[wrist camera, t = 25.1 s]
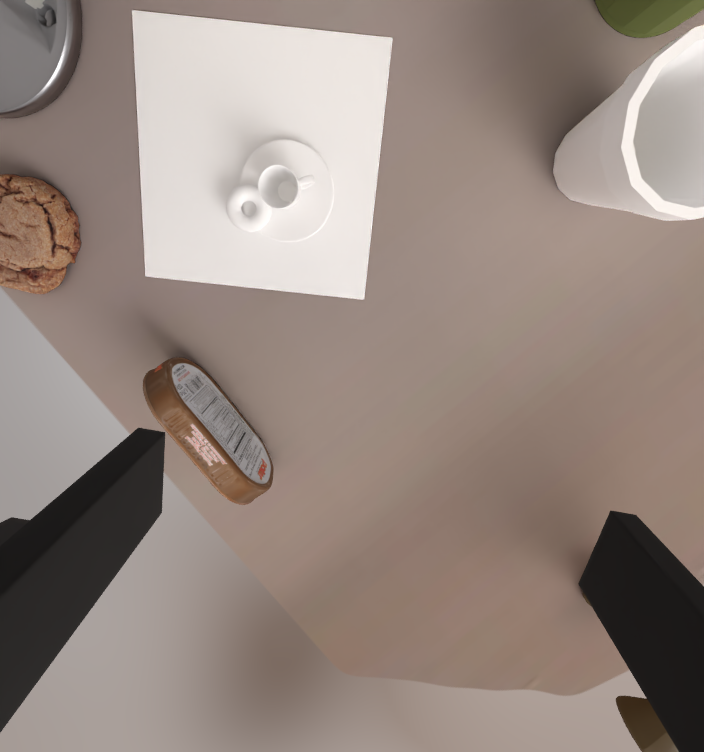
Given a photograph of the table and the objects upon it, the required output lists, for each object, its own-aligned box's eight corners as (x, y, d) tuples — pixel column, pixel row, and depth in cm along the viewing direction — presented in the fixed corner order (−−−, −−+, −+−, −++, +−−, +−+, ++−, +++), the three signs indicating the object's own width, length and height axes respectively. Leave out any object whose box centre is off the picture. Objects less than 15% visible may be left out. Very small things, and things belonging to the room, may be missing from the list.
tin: (167, 359, 42) (119, 390, 34) (191, 342, 41) (149, 369, 33) (262, 474, 46) (239, 526, 38) (285, 460, 45) (268, 509, 37)
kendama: (656, 580, 48) (844, 808, 29) (579, 621, 50) (708, 858, 31) (629, 545, 47) (807, 760, 28) (551, 589, 49) (667, 816, 30)
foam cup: (618, 66, 33) (767, -32, 21) (673, 170, 35) (839, 136, 23) (511, 154, 35) (589, 111, 23) (569, 246, 37) (670, 253, 25)
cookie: (104, 225, 38) (83, 224, 35) (47, 314, 41) (23, 321, 38) (2, 142, 36) (-29, 135, 33) (-50, 242, 39) (-83, 242, 36)
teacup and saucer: (230, 236, 38) (215, 236, 34) (232, 134, 35) (215, 122, 32) (330, 246, 38) (325, 248, 34) (338, 145, 35) (334, 135, 32)
